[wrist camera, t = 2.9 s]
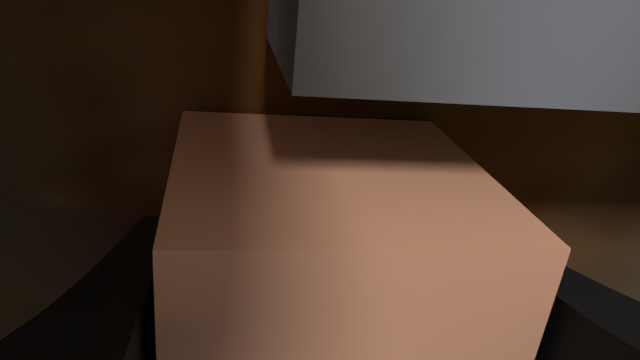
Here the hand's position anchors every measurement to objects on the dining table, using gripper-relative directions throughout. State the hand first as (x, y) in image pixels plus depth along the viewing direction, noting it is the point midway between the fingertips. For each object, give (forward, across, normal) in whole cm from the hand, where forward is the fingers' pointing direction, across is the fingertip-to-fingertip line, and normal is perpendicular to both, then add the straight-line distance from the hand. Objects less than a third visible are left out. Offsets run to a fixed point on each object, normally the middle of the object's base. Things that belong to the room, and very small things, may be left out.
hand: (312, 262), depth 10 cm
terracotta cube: (+1, 0, 0) cm, 1 cm away
